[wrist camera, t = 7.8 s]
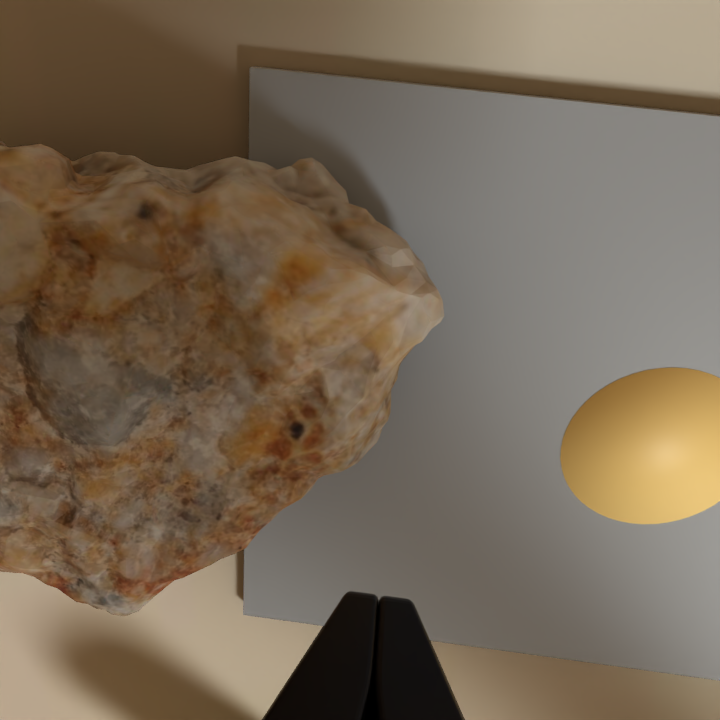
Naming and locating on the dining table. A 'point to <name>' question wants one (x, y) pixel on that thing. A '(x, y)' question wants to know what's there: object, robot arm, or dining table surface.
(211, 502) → the rock
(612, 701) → the dining table surface
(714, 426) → the card
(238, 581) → the dining table surface
